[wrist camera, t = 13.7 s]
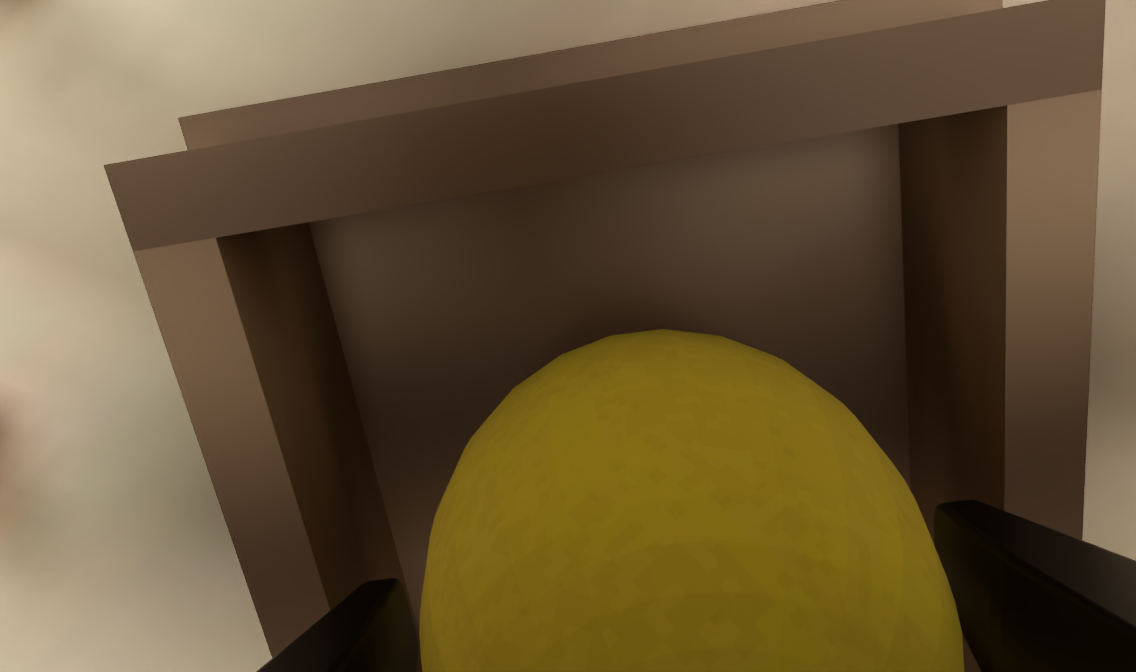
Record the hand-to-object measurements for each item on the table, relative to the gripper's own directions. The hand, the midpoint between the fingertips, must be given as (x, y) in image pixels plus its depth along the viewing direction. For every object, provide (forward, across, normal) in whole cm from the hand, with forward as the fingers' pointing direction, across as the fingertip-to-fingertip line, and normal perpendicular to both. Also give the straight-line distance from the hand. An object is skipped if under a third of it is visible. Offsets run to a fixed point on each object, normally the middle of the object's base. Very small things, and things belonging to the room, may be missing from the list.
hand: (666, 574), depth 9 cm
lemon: (+4, 0, 0) cm, 4 cm away
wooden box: (+5, 0, +6) cm, 8 cm away
